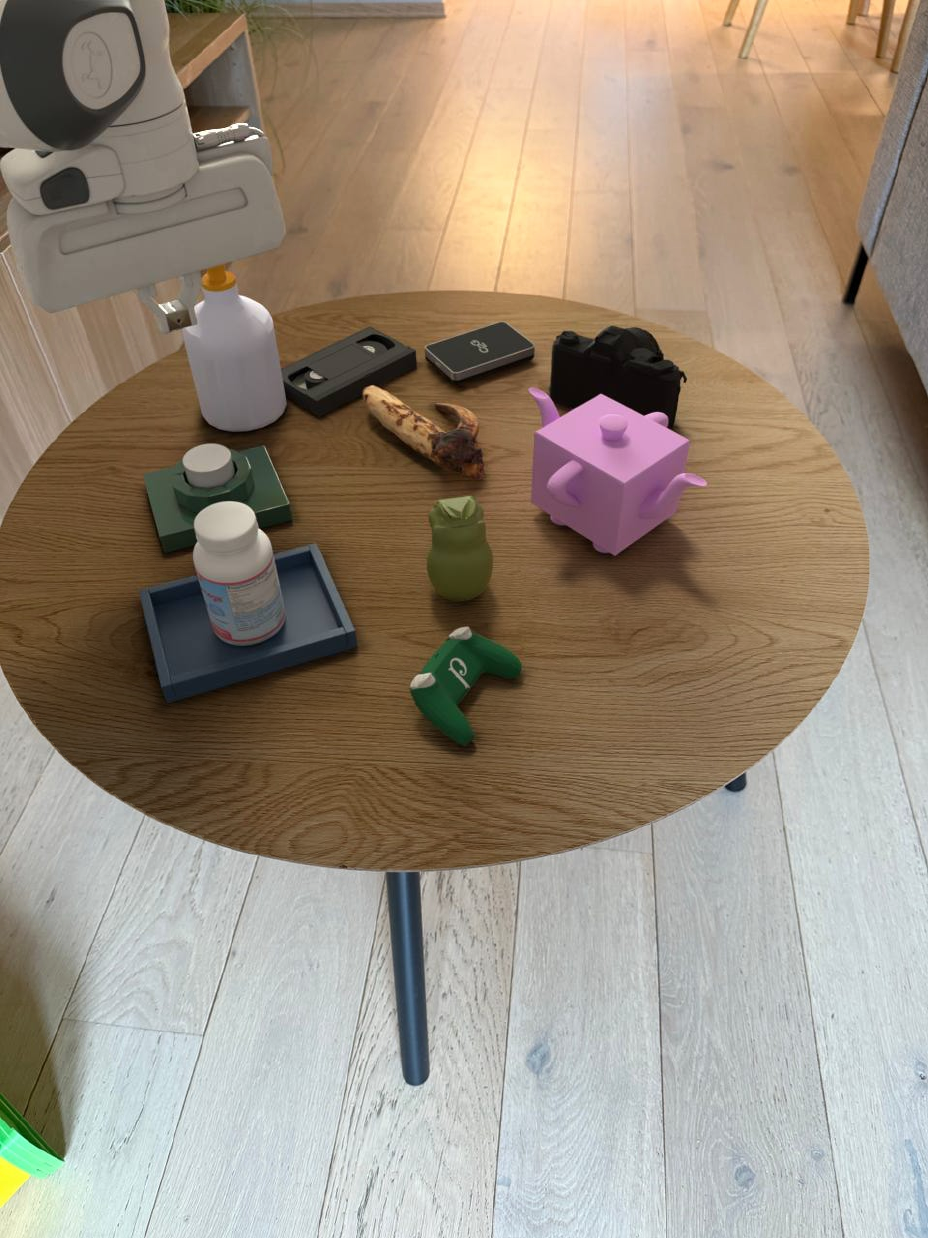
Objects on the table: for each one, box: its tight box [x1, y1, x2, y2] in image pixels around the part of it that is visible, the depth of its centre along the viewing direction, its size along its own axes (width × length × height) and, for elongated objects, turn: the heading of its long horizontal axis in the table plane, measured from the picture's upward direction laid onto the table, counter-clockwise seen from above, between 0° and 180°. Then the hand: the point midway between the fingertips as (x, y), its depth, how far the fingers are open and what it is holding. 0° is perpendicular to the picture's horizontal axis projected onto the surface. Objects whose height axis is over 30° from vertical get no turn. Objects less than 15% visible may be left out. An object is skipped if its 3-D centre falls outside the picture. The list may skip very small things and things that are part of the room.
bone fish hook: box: [362, 385, 486, 481], centre depth 96 cm, size 9×5×18 cm
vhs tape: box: [281, 326, 418, 418], centre depth 106 cm, size 14×8×2 cm, turn 135°
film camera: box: [548, 325, 688, 431], centre depth 99 cm, size 15×10×9 cm, turn 56°
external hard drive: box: [424, 320, 536, 386], centre depth 107 cm, size 7×11×2 cm, turn 122°
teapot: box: [528, 387, 708, 556], centre depth 85 cm, size 15×13×11 cm
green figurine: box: [426, 494, 494, 602], centre depth 79 cm, size 6×5×10 cm
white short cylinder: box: [182, 443, 235, 489], centre depth 87 cm, size 4×4×2 cm
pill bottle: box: [192, 501, 285, 646], centre depth 75 cm, size 6×6×11 cm
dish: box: [138, 542, 359, 704], centre depth 79 cm, size 16×12×2 cm
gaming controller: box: [409, 626, 523, 747], centre depth 73 cm, size 9×4×6 cm
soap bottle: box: [182, 263, 288, 433], centre depth 93 cm, size 9×9×25 cm
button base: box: [142, 445, 294, 554], centre depth 89 cm, size 12×10×4 cm
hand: (177, 326), depth 77 cm, fingers closed
